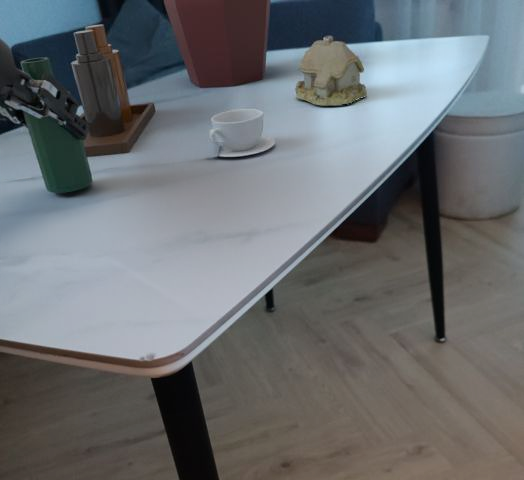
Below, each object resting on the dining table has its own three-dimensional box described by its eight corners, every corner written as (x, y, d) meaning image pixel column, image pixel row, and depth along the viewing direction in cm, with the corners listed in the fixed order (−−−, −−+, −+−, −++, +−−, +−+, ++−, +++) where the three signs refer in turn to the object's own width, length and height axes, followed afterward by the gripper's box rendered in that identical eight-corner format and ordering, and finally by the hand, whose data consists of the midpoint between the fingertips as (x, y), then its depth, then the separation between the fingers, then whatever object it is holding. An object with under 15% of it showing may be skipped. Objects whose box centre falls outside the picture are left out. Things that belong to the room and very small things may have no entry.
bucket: (302, 71, 130) (294, -68, 116) (230, 95, 117) (211, -58, 103) (225, 67, 145) (210, -57, 130) (154, 87, 132) (129, -48, 118)
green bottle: (40, 194, 76) (0, 67, 67) (54, 179, 81) (18, 58, 72) (86, 190, 76) (51, 61, 67) (97, 175, 80) (66, 53, 72)
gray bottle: (85, 138, 97) (58, 36, 89) (94, 128, 102) (69, 31, 94) (121, 134, 97) (97, 31, 88) (128, 125, 102) (106, 26, 93)
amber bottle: (96, 127, 103) (71, 30, 95) (103, 118, 108) (81, 25, 100) (129, 123, 103) (108, 26, 94) (136, 115, 108) (116, 21, 99)
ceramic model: (380, 95, 105) (381, 31, 99) (335, 110, 99) (333, 43, 94) (324, 88, 114) (321, 29, 108) (280, 101, 109) (275, 40, 103)
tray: (47, 166, 89) (42, 150, 88) (89, 122, 110) (86, 109, 109) (129, 158, 88) (126, 142, 87) (156, 115, 109) (153, 102, 108)
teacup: (245, 135, 92) (241, 103, 89) (289, 145, 86) (286, 110, 83) (193, 153, 87) (187, 120, 84) (236, 164, 80) (231, 129, 78)
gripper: (12, 9, 58) (117, 106, 73) (-81, 15, 64) (33, 104, 79) (-11, 79, 57) (100, 163, 72) (-103, 79, 64) (16, 156, 79)
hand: (65, 131), depth 76 cm, fingers closed on green bottle, 6 cm apart
